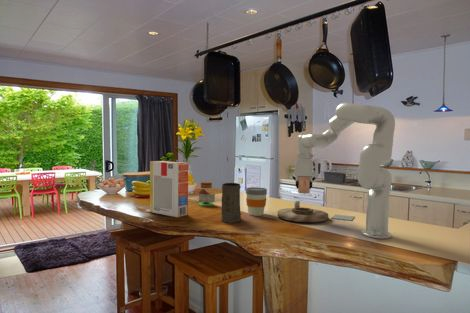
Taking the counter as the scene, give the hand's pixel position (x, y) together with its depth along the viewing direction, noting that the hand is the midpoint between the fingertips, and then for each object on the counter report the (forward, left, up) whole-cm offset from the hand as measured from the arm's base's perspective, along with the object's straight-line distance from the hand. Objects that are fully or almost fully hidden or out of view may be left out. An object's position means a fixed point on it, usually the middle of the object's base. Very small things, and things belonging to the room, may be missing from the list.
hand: (303, 188), depth 188 cm
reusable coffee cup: (-4, +27, -17) cm, 33 cm away
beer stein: (-25, +32, -17) cm, 44 cm away
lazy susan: (0, 0, -17) cm, 17 cm away
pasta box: (-30, +72, -17) cm, 79 cm away
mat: (+13, -20, -17) cm, 29 cm away
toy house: (+5, +68, -17) cm, 71 cm away
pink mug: (-1, -1, -3) cm, 3 cm away
